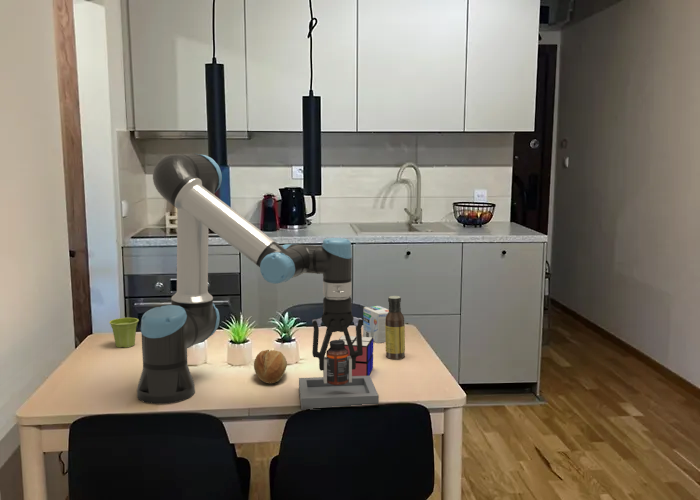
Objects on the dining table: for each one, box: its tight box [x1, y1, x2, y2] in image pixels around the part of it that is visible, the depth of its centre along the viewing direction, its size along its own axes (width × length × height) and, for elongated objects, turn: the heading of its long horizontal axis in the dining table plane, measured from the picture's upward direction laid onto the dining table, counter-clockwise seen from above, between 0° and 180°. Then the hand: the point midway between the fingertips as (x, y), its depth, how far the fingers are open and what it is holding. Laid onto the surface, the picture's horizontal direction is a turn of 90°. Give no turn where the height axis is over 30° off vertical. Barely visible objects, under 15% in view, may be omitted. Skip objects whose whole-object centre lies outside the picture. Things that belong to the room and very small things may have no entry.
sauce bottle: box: [385, 295, 406, 360], centre depth 216 cm, size 6×6×20 cm
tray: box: [298, 375, 380, 411], centre depth 181 cm, size 20×16×3 cm
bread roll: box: [253, 349, 288, 384], centre depth 196 cm, size 10×15×8 cm, turn 5°
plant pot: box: [108, 317, 140, 348], centre depth 228 cm, size 9×9×9 cm
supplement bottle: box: [325, 339, 349, 385], centre depth 180 cm, size 6×6×11 cm
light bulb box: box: [362, 305, 389, 344], centre depth 238 cm, size 11×7×11 cm, turn 28°
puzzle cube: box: [338, 335, 374, 376], centre depth 201 cm, size 10×10×10 cm
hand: (337, 381), depth 181 cm, fingers closed on supplement bottle, 6 cm apart
